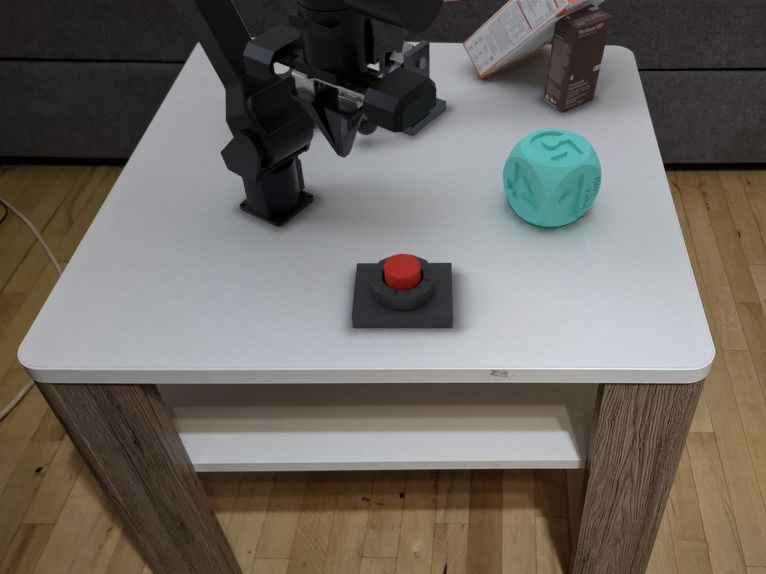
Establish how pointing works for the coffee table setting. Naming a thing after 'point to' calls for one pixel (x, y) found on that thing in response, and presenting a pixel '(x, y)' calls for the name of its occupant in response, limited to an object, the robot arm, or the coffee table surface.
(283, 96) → the robot arm
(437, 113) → the bracket
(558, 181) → the decorative dice
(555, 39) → the box
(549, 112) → the coffee table surface
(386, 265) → the button
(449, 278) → the control block
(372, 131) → the lever
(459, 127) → the coffee table surface
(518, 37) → the cracker box
